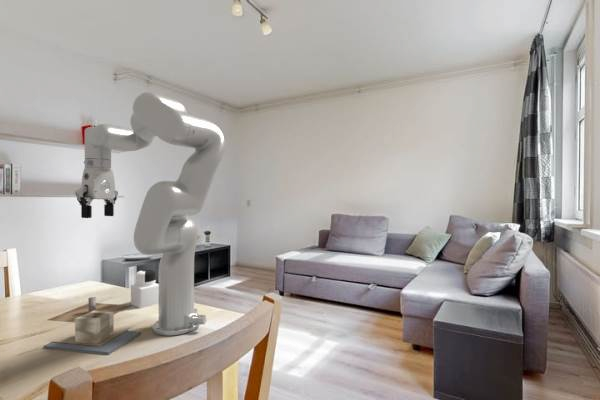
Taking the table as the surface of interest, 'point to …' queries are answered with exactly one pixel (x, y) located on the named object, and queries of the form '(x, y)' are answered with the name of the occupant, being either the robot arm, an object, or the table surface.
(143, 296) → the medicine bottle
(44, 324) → the table surface
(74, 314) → the peg stand
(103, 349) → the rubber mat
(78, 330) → the ring block
